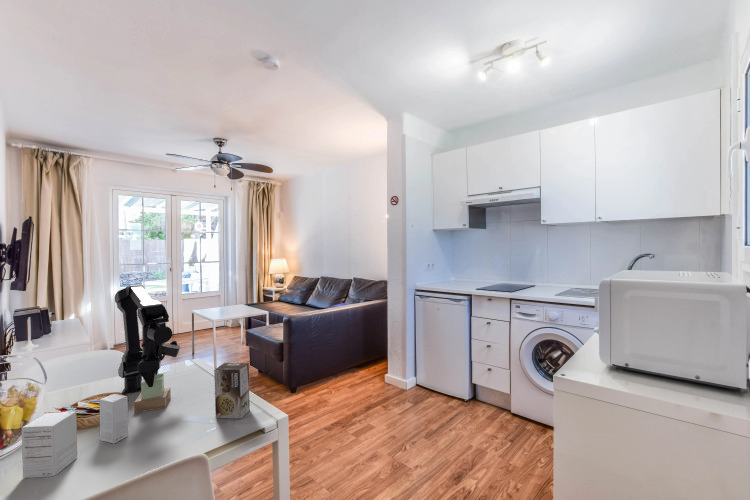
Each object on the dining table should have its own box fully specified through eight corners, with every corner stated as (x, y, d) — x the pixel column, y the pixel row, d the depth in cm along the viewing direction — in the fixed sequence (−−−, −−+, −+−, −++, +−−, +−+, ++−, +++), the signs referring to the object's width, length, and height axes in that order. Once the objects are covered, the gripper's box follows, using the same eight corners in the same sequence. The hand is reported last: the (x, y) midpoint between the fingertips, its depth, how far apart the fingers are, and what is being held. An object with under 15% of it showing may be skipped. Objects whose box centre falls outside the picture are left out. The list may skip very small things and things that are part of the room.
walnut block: (142, 402, 121) (141, 391, 120) (170, 397, 124) (170, 387, 124) (134, 413, 112) (134, 402, 112) (165, 408, 115) (164, 397, 115)
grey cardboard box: (250, 409, 113) (249, 362, 113) (241, 419, 107) (240, 369, 107) (225, 408, 114) (224, 362, 114) (214, 418, 108) (213, 369, 107)
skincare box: (129, 436, 98) (128, 395, 98) (113, 444, 94) (112, 402, 94) (115, 432, 100) (114, 393, 100) (99, 440, 96) (98, 399, 96)
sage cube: (144, 393, 119) (143, 376, 119) (163, 389, 122) (163, 373, 122) (141, 399, 114) (141, 382, 114) (162, 396, 116) (161, 379, 116)
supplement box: (48, 459, 87) (47, 412, 87) (78, 457, 88) (77, 410, 88) (21, 479, 80) (20, 427, 80) (54, 477, 81) (53, 425, 80)
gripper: (176, 341, 113) (176, 387, 113) (180, 330, 130) (181, 369, 130) (136, 346, 108) (137, 394, 108) (146, 333, 125) (147, 375, 125)
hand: (152, 382), depth 118 cm, fingers open, 9 cm apart
